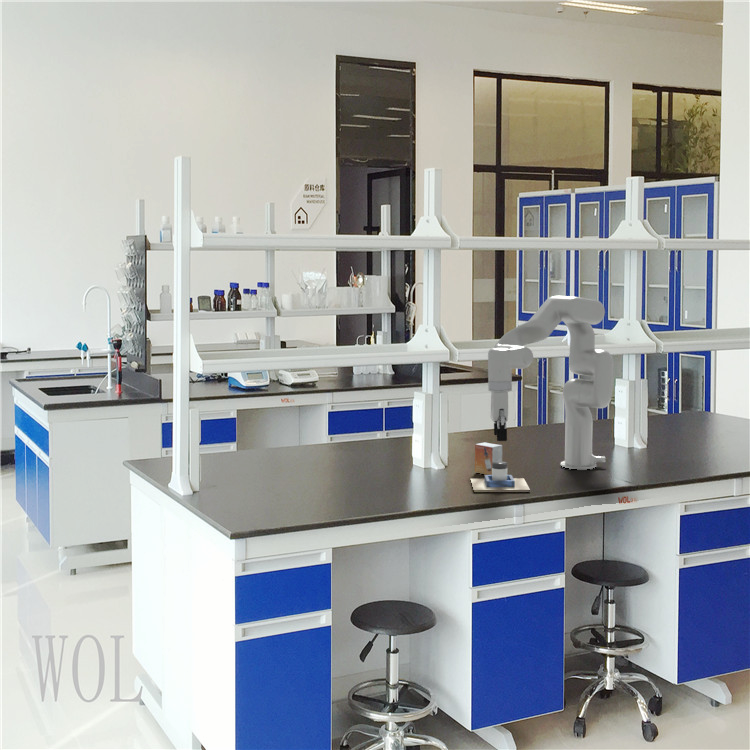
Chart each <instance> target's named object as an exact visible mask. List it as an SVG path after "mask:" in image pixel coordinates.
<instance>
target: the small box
mask: <svg viewBox="0 0 750 750" xmlns="http://www.w3.org/2000/svg"><path fill="white" fill-rule="evenodd" d="M496 461H502V462H503V445H502V444H496V443H489V442H485V441H484V442H480V443H476V444H474V473H475V472H478V473H483V474H489V475H492V462H496Z"/></svg>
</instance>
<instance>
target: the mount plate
mask: <svg viewBox="0 0 750 750" xmlns="http://www.w3.org/2000/svg"><path fill="white" fill-rule="evenodd" d="M470 480H471V482H470V484H471V483H472V486H471V488H472V487H473V489H472V491H473V490H530V491H531V489H530V487H529V485H528V483H527V482H526V480H525V478H523V477H522V478H521V477H519V478H517V477H515V478H514V477H513V475H512V474H507V480H492V475H484V478H470V479H469V481H470Z"/></svg>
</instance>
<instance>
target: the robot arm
mask: <svg viewBox="0 0 750 750" xmlns="http://www.w3.org/2000/svg"><path fill="white" fill-rule="evenodd" d="M605 314H606V310H605V306H604V304H603V303H602V302H601V301H600V300H597V299H591V298H585V297H579V296H571V295H570V296H569V295H568V296H567V295H566V296H565V295H554V296H553V295H552V296H549V297H548V298H547V299H545V301H544V302H543V303H542V304H541V306H540V307H539V308H538V310H536V311H535V313H534V314H533V315H532V316H531V317H530V319H529V320H528V321H526V322H524V323H522V324H520V325H518V326H516V327H514V328H513V329H511V330H509V331H508V332H506V333H505V334H503V336H501V338H500V339H498V341H497V342H496V344H495V345H493V347H492V348H490V349H489V350H488V351H487V363H488V364H487V372H488V373H487V377H488V378H487V379H488V381H487V384H488V385H487V386H488V387H487V388H488V389H487V390H488V392H490V394H491V395H490V419H491V421H492V422H493V435H494V436H496V441H497V442H507V440H508V428H507V422H508V420H509V392H511V391H512V389H513V388H512V387H513V386H512V385H513V384H512V383H513V381H512V380H513V378H512V376H513V375H512V372H513V370H514V369H517V370H519V369H520V370H523V369H526V368H528V367H529V366H530V367H531V364H532V363H533V361H534V353H533V351H532V350H531V349H530V348H529V347H527V345H531V344H535V343H538V342H541V341H545V340H546V339H548V337H550V335H551V334H552V333H553V331H554V330H555V329H556V328H557V327H558V326H559V324H561V323H562V322H563V323H564V324H565V326H566V327H567V329H568V332H569V338H570V341H569V354H568V355H569V357H568V366H569V370H570V372H571V373H572V374H575V375H578V376H586V377H593V380H592V379H585V378H572V379H569V380H567V381H566V382H565V384H564V385H563V388H562V398H563V402H564V413H565V417H564V418H565V419H564V422H565V423H564V425H565V428H564V429H565V430H564V431H565V432H564V433H565V435H564V460H563V461H560V465H561V466H562V467H561V466H560V465H559V466H560V467H561V468H563V467H565V468H569V469H568V470H571V469H577V470H576V471H588V470H587V469H590V470H594V469H596V468H597V463H606V459H607V458H606V456H599V455H598V456H596V455H594V454H593V413H592V412H591V409H590V408H592V409H604V408H607V407H608V406H609V404H610V403H611V400H612V396H613V385H614V367H615V364H614V359H613V356H612V354H611V353H610V352H609V351H607V350H604V349H597V348H596V345H595V344H596V343H595V340H596V336H595V335H596V334H595V331H594V328H593V327H592V325H598V324H600V323H601V322H602V321H603V320H604V318H605ZM595 467H596V468H595ZM565 468H564V469H565ZM593 468H594V469H593Z"/></svg>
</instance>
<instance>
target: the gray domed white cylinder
mask: <svg viewBox="0 0 750 750" xmlns="http://www.w3.org/2000/svg"><path fill="white" fill-rule="evenodd" d="M507 475H508V462H507V461H503V460H502V461H496V462H492V480H507Z"/></svg>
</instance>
